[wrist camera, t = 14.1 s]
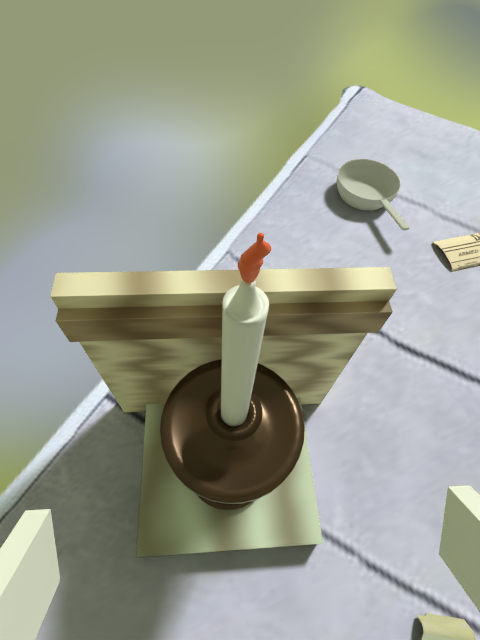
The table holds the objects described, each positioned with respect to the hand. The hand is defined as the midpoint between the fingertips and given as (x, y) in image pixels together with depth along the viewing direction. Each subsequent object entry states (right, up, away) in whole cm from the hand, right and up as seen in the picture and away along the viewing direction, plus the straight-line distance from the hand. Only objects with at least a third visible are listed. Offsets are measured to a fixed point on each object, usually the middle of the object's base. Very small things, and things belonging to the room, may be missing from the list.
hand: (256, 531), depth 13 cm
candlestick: (-2, -8, +29) cm, 30 cm away
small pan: (+23, +27, +55) cm, 65 cm away
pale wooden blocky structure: (-2, -9, +31) cm, 32 cm away
